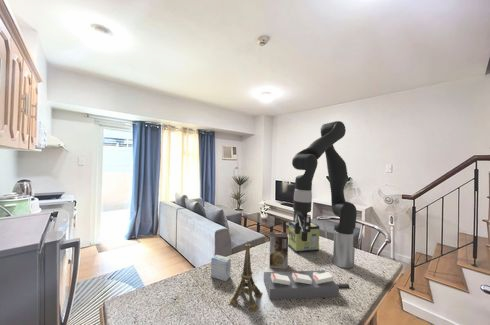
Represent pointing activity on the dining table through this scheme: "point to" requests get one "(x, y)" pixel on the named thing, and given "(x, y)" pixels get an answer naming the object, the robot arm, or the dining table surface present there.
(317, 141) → the robot arm
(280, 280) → the block
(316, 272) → the switch panel
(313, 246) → the protein box
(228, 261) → the medicine box
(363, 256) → the dining table surface
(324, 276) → the rocker
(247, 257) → the eiffel tower
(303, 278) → the block
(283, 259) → the coffee box
